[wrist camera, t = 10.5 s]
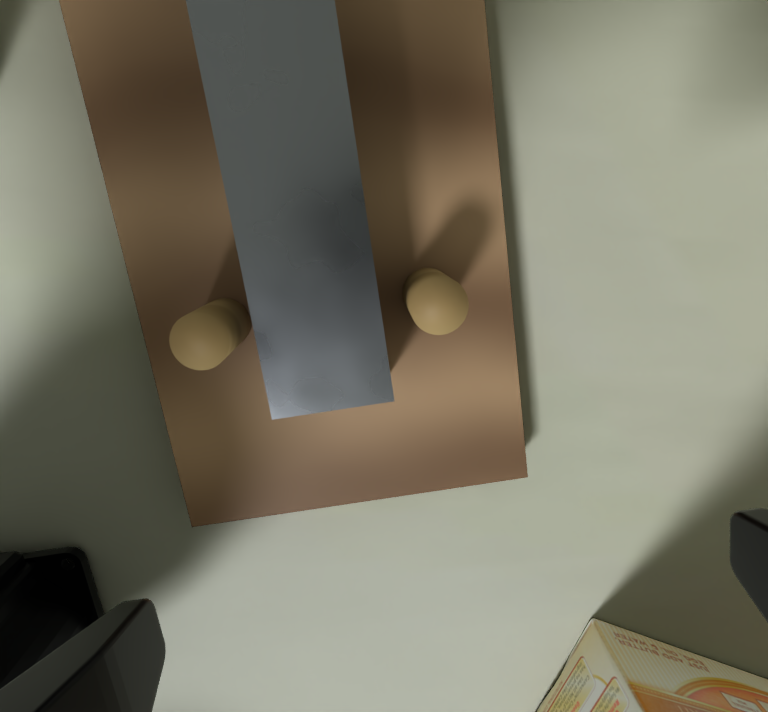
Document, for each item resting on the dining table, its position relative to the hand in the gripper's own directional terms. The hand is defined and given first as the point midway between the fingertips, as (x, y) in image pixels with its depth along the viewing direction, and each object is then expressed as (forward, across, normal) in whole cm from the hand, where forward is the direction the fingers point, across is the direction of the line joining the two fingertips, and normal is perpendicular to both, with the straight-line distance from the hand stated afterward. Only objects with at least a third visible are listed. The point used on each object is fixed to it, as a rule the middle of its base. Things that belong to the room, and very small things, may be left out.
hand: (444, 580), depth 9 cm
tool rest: (+12, +2, -9) cm, 15 cm away
